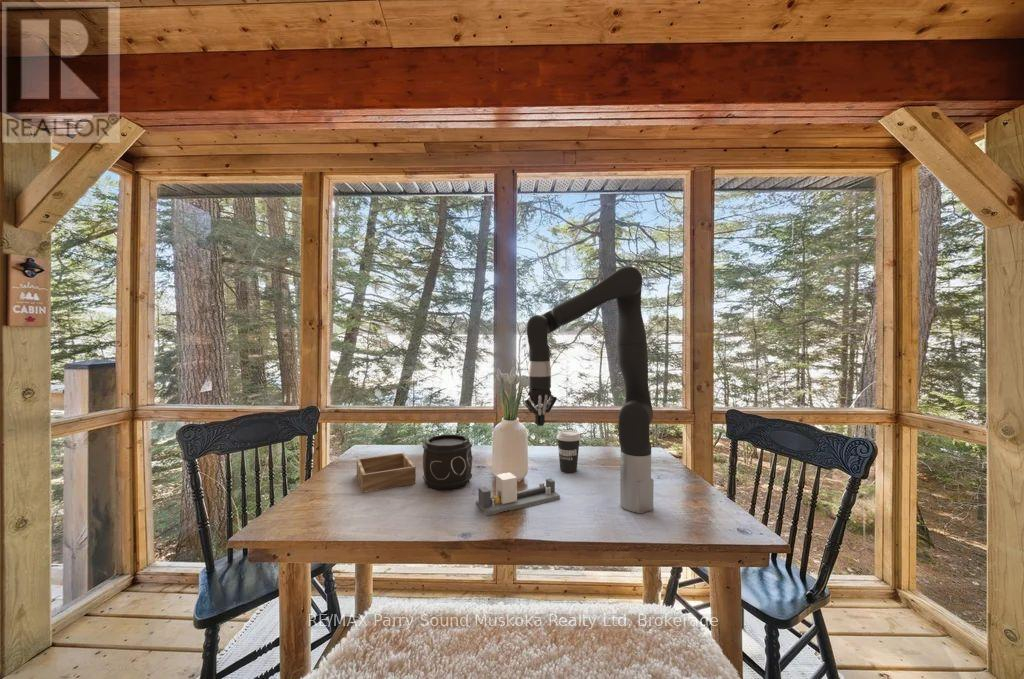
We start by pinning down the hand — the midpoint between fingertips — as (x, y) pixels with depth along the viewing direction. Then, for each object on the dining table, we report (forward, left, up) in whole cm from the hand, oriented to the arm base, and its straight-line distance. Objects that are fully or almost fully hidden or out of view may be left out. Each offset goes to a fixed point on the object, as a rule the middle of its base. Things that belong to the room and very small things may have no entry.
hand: (540, 425), depth 134 cm
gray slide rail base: (-2, +9, -23) cm, 25 cm away
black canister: (+24, +24, -24) cm, 41 cm away
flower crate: (+38, +44, -23) cm, 63 cm away
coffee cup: (+14, -22, -23) cm, 35 cm away
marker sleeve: (-2, +14, -22) cm, 26 cm away
